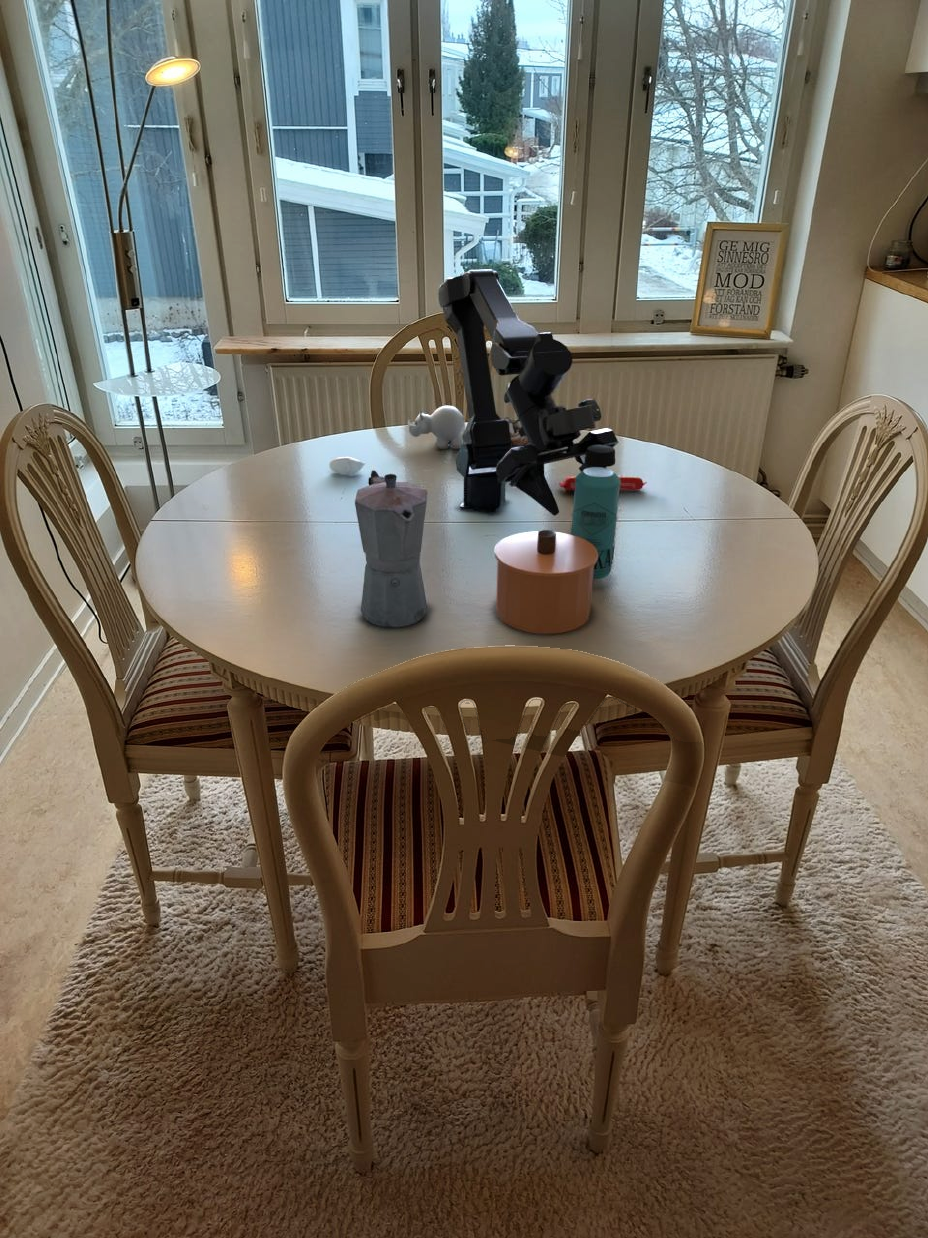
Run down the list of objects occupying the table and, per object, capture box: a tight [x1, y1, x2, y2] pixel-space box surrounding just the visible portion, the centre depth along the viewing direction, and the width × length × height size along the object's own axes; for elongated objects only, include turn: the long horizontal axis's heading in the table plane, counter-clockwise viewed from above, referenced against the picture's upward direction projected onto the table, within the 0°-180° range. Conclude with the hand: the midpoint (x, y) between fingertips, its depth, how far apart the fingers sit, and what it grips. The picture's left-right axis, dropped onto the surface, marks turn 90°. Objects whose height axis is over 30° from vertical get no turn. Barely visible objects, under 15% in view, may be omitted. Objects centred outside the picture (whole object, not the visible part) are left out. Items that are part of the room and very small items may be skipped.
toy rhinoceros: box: [407, 405, 466, 450], centre depth 180 cm, size 7×12×8 cm, turn 89°
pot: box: [495, 560, 594, 635], centre depth 115 cm, size 13×13×8 cm
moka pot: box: [354, 469, 428, 628], centre depth 112 cm, size 10×15×20 cm, turn 27°
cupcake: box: [500, 416, 530, 447], centre depth 167 cm, size 10×10×10 cm
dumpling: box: [328, 456, 365, 477], centre depth 166 cm, size 7×5×4 cm
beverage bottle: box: [569, 445, 621, 580], centre depth 121 cm, size 6×7×20 cm
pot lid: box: [494, 529, 598, 577], centre depth 113 cm, size 14×14×4 cm
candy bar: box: [558, 475, 648, 492], centre depth 158 cm, size 16×4×3 cm, turn 92°
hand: (581, 507), depth 122 cm, fingers open, 9 cm apart
